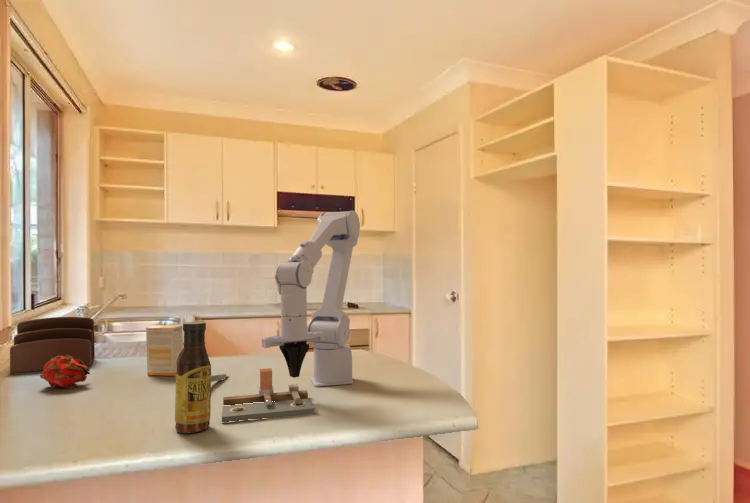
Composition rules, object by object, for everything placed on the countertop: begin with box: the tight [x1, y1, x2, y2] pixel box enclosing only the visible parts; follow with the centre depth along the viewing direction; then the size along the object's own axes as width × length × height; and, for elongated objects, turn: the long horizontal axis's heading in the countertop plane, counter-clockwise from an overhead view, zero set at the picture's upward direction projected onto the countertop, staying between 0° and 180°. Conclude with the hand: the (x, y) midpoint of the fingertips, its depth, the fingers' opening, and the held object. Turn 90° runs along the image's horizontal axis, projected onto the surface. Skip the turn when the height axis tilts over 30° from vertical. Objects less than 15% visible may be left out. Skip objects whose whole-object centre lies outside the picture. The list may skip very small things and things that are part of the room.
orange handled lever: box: [258, 367, 275, 406], centre depth 106 cm, size 3×10×6 cm, turn 15°
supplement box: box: [145, 324, 184, 377], centre depth 135 cm, size 8×5×13 cm, turn 80°
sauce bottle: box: [174, 321, 212, 434], centre depth 93 cm, size 7×6×20 cm
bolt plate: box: [221, 397, 316, 423], centre depth 101 cm, size 18×7×1 cm, turn 106°
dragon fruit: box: [39, 355, 91, 389], centre depth 123 cm, size 8×8×12 cm
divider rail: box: [222, 383, 309, 405], centre depth 105 cm, size 18×10×3 cm, turn 106°
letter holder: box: [9, 316, 96, 374], centre depth 146 cm, size 10×20×14 cm, turn 115°
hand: (294, 376), depth 111 cm, fingers closed
